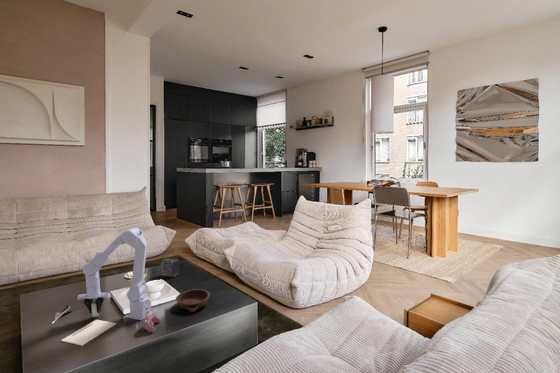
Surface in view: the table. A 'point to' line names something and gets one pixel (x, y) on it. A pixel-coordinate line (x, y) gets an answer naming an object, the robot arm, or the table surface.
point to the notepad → (88, 332)
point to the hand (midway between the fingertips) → (95, 312)
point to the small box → (169, 267)
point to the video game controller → (150, 322)
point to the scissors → (61, 314)
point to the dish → (193, 299)
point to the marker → (94, 310)
